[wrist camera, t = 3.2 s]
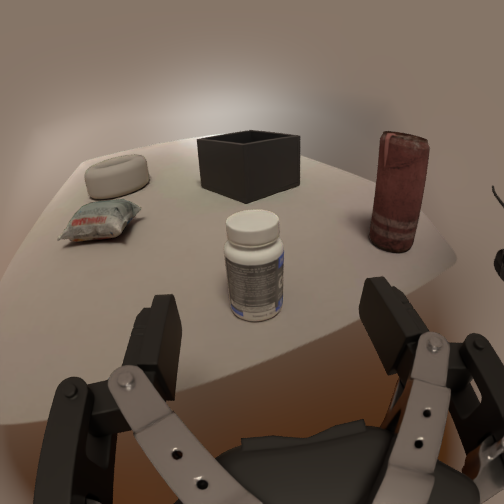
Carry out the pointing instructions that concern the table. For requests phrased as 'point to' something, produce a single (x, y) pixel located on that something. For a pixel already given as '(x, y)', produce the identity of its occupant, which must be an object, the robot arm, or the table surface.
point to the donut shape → (116, 176)
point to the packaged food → (100, 220)
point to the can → (398, 190)
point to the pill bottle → (254, 264)
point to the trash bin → (249, 164)
